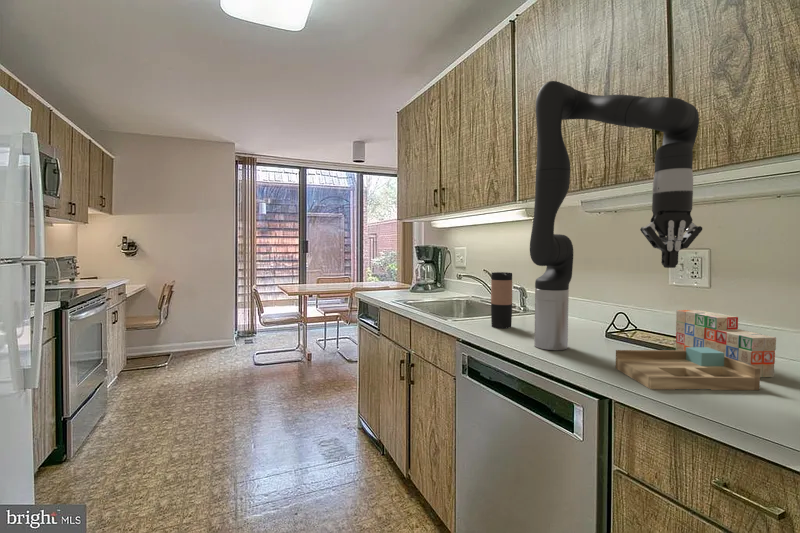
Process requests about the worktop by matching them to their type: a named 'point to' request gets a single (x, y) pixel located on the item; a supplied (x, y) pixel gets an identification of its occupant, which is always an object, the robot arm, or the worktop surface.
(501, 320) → the travel mug
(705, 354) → the block
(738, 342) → the stack of blocks
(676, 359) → the board
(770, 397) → the worktop surface
